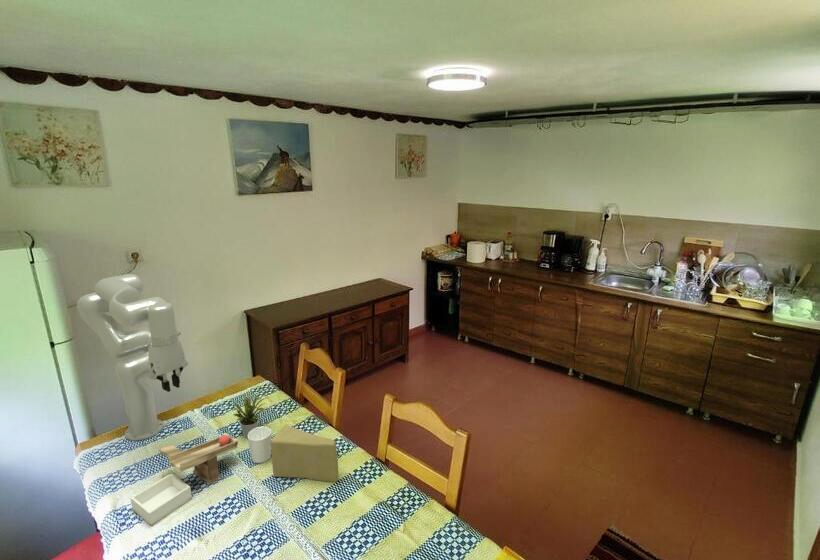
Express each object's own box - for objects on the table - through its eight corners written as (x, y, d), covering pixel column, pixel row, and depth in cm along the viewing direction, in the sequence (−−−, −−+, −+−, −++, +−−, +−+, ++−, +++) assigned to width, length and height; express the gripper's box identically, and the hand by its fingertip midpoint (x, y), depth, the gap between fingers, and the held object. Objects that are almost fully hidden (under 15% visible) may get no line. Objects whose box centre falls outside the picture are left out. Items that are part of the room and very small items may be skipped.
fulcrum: (193, 472, 139) (190, 450, 136) (204, 466, 142) (201, 444, 139) (210, 484, 134) (207, 461, 131) (221, 477, 137) (218, 454, 135)
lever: (153, 457, 133) (154, 444, 133) (210, 436, 150) (211, 424, 150) (180, 476, 125) (182, 462, 125) (237, 451, 143) (238, 440, 142)
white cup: (265, 466, 143) (263, 441, 140) (245, 462, 144) (243, 438, 141) (276, 451, 150) (275, 428, 147) (257, 448, 152) (255, 425, 149)
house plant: (280, 431, 161) (277, 395, 157) (250, 450, 150) (246, 412, 146) (256, 419, 169) (254, 384, 164) (226, 436, 157) (222, 399, 153)
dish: (132, 509, 123) (130, 497, 122) (172, 484, 133) (171, 473, 132) (151, 526, 118) (149, 513, 117) (191, 498, 128) (190, 486, 127)
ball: (216, 445, 141) (216, 436, 141) (225, 441, 144) (225, 432, 144) (222, 449, 139) (222, 439, 139) (231, 444, 142) (231, 435, 142)
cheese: (343, 471, 142) (343, 434, 138) (331, 491, 133) (330, 452, 129) (287, 458, 147) (285, 422, 143) (271, 477, 138) (269, 439, 134)
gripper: (181, 329, 143) (188, 375, 148) (132, 345, 130) (141, 395, 135) (194, 334, 140) (200, 381, 145) (144, 350, 126) (153, 402, 131)
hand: (171, 388), depth 140 cm, fingers open, 2 cm apart
